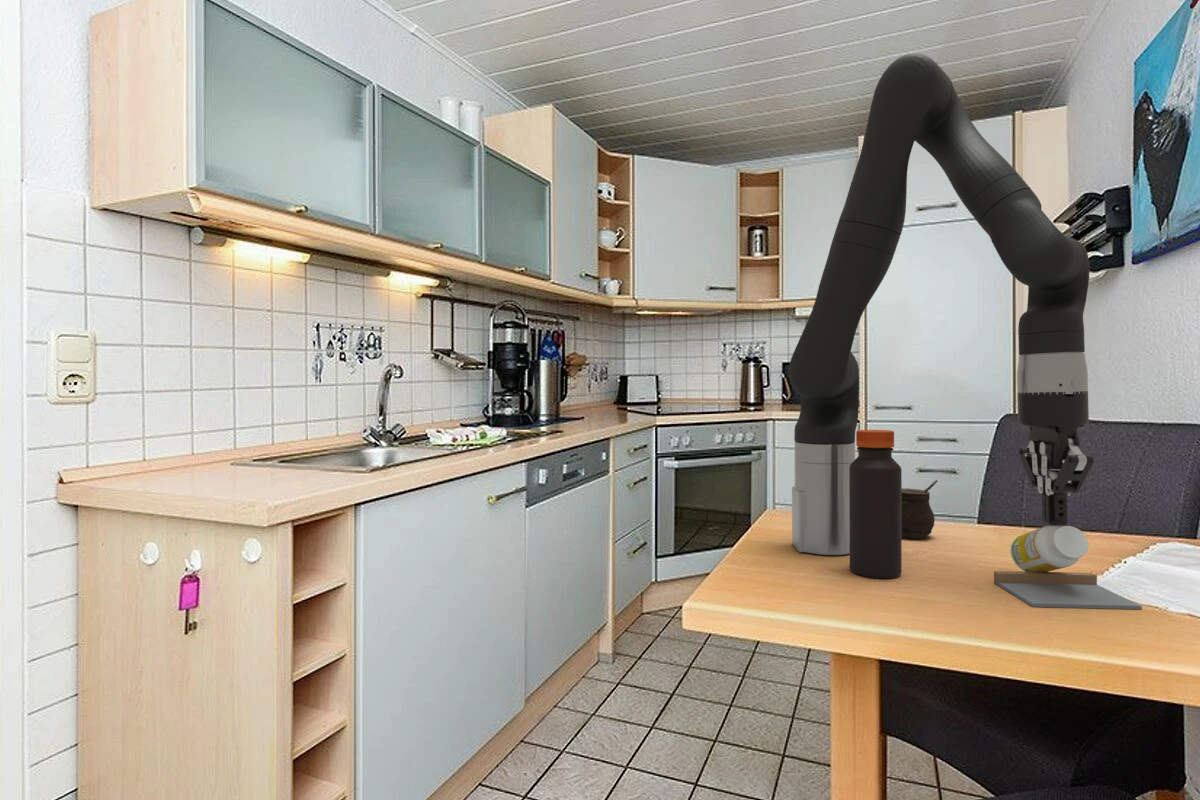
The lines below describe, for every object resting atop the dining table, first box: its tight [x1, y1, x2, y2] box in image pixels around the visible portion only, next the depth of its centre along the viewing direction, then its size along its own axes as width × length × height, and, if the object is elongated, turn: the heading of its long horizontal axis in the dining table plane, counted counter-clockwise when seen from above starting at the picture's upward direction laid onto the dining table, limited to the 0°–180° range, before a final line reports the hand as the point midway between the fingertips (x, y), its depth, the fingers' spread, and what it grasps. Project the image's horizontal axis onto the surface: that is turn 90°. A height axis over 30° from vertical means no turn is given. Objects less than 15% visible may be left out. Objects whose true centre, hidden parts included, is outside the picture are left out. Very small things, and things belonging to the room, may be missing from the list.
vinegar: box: [849, 429, 903, 580], centre depth 93 cm, size 7×7×20 cm
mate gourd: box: [902, 479, 938, 540], centre depth 115 cm, size 7×8×10 cm
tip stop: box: [993, 570, 1143, 610], centre depth 82 cm, size 12×9×2 cm
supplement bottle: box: [1010, 524, 1089, 572], centre depth 86 cm, size 5×5×10 cm
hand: (1054, 523), depth 85 cm, fingers closed
